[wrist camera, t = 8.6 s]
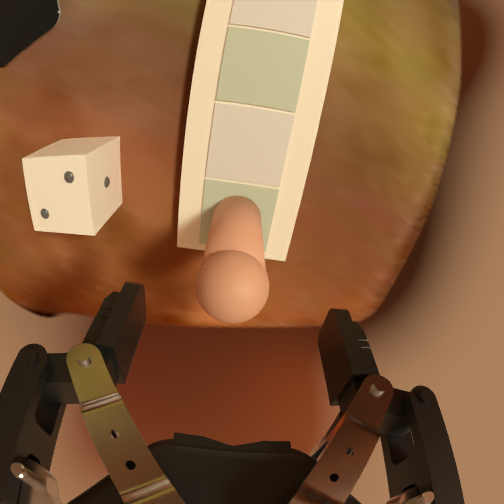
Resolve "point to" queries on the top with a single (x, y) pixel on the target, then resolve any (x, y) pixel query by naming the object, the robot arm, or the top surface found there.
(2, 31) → the smartphone
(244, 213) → the pawn
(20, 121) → the top surface
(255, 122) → the board
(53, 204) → the die
